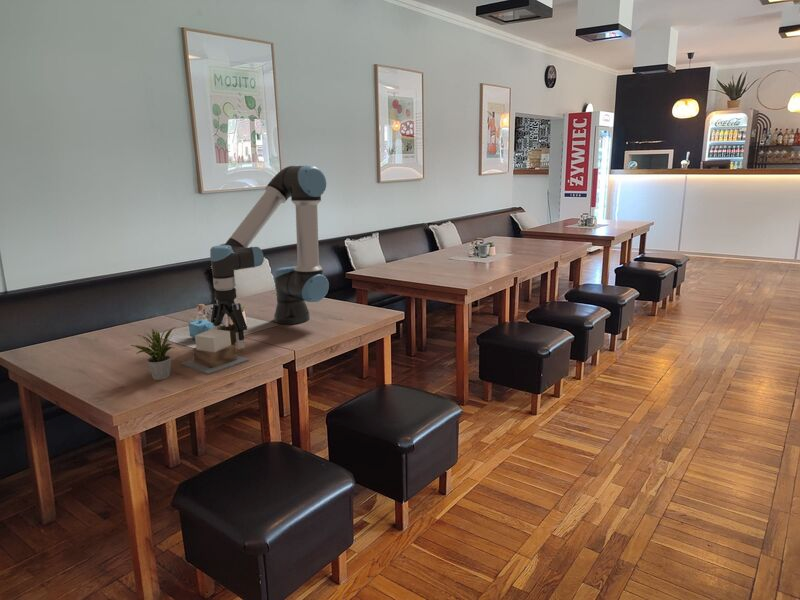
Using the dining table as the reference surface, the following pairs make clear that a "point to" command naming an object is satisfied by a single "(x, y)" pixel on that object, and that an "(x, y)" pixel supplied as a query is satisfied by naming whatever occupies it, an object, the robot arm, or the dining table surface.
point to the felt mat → (212, 370)
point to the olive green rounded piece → (232, 332)
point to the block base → (215, 357)
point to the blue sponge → (199, 327)
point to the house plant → (157, 355)
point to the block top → (213, 340)
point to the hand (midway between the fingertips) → (230, 344)
